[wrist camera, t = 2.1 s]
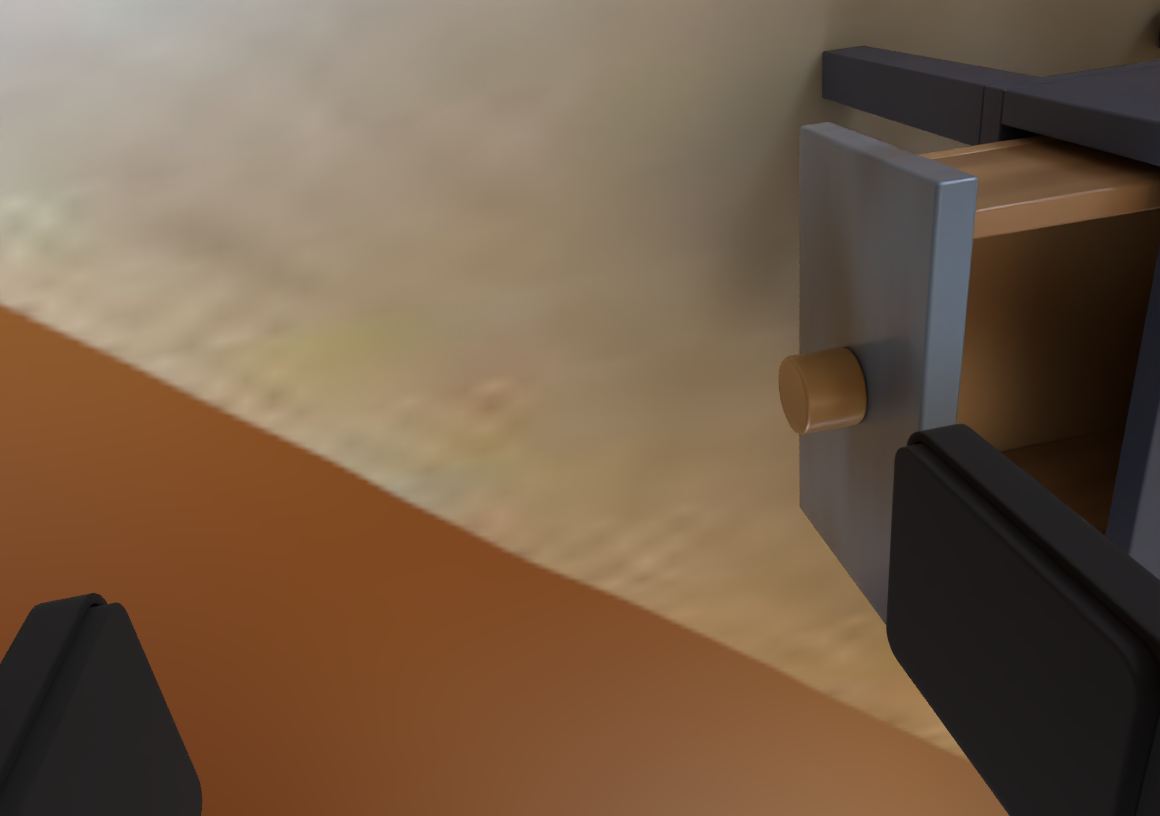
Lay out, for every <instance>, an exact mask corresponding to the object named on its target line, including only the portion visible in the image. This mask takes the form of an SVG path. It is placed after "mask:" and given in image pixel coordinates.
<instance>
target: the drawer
mask: <svg viewBox="0 0 1160 816" xmlns="http://www.w3.org/2000/svg"><path fill="white" fill-rule="evenodd" d="M1159 244H1160V166H1157V165H1153V164H1149V163H1146V162H1142V161H1138V160H1134V159H1131V158H1127V157H1123V156H1119V155H1116V154H1112V153H1108V152H1104V151H1101V150H1097V149H1093V148H1089V147H1086V146H1082V145H1078V144H1074V143H1071V142H1067V141H1063V140H1059V139H1056V138H1052V137H1048V136H1044V135H1039V136H1032V137H1026V138H1020V139H1013V140H1007V141H1000V142H994V143H988V144H981V145H975V146H968V147H962V148H956V149H949V150H943V151H936V152H930V153H923V154H915V153H912V152H909V151H907V150H904V149H901V148H899V147H896V146H893V145H890V144H888V143H885V142H882V141H880V140H877V139H874V138H872V137H869V136H866V135H863V134H861V133H858V132H855V131H853V130H850V129H847V128H845V127H842V126H839V125H836V124H834V123H831V122H823V123H817V124H810V125H804V126H802V127H800V354H799V355H794V356H788V357H786V358H785V359H784V360H783V361H782V363H781V365H780V370H779V392H780V398H781V403H782V407H783V410H784V413H785V416H786V418H787V420H788V422H789V424H790V426H791V428H792V429H793V430H794V431H795V432H796V433H798V434H800V508H801V510H802V511H803V512H804V514H805V515H806V516H807V518H808V519H809V521H810V522H811V523H812V525H813V526H814V527H815V529H816V530H817V531H818V533H819V534H820V536H821V537H822V538H823V540H824V541H825V542H826V544H827V545H828V546H829V548H830V549H831V551H832V552H833V553H834V555H835V556H836V557H837V559H838V560H839V562H840V563H841V564H842V566H843V567H844V568H845V570H846V571H847V572H848V574H849V575H850V577H851V578H852V579H853V581H854V582H855V583H856V585H857V586H858V587H859V589H860V590H861V592H862V593H863V594H864V596H865V597H866V598H867V600H868V601H869V602H870V604H871V605H872V607H873V608H874V609H875V611H876V612H877V613H878V615H879V616H880V618H881V619H882V620H883V622H884V623H885V624H886V620H887V600H888V580H889V560H890V540H891V520H892V500H893V479H894V461H895V454H896V452H897V450H898V449H899V448H901V447H906V446H907V441H908V439H909V437H910V435H912V434H913V433H914V432H918V431H923V430H928V429H933V428H938V427H944V426H949V425H954V424H964V425H966V426H968V427H970V428H971V429H972V430H974V431H975V432H976V433H977V434H979V435H980V436H981V437H982V438H984V439H985V440H986V441H987V442H989V443H990V444H991V445H992V446H994V447H995V448H996V449H997V450H999V451H1000V452H1001V453H1002V454H1004V455H1005V456H1006V457H1007V458H1009V459H1010V460H1011V461H1012V462H1014V463H1015V464H1016V465H1017V466H1018V467H1020V468H1021V469H1022V470H1023V471H1025V472H1026V473H1027V474H1028V475H1030V476H1031V477H1032V478H1033V479H1035V480H1036V481H1037V482H1038V483H1040V484H1041V485H1042V486H1043V487H1045V488H1046V489H1047V490H1048V491H1050V492H1051V493H1052V494H1053V495H1055V496H1056V497H1057V498H1058V499H1060V500H1061V501H1062V502H1063V503H1065V504H1066V505H1067V506H1068V507H1070V508H1071V509H1072V510H1073V511H1075V512H1076V513H1077V514H1078V515H1080V516H1081V517H1082V518H1083V519H1085V520H1086V521H1087V522H1088V523H1090V524H1091V525H1092V526H1093V527H1095V528H1096V529H1097V530H1098V531H1099V532H1101V533H1102V534H1103V535H1104V536H1105V535H1106V529H1107V524H1108V519H1109V513H1110V508H1111V502H1112V497H1113V492H1114V486H1115V481H1116V476H1117V470H1118V465H1119V459H1120V454H1121V449H1122V443H1123V438H1124V433H1125V427H1126V422H1127V416H1128V411H1129V406H1130V400H1131V395H1132V389H1133V384H1134V379H1135V373H1136V368H1137V363H1138V357H1139V352H1140V346H1141V341H1142V336H1143V330H1144V325H1145V320H1146V314H1147V309H1148V303H1149V298H1150V293H1151V287H1152V282H1153V276H1154V271H1155V266H1156V260H1157V255H1158V250H1159Z"/></svg>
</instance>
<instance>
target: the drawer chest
mask: <svg viewBox="0 0 1160 816" xmlns="http://www.w3.org/2000/svg"><path fill="white" fill-rule="evenodd" d="M1158 48H1159V49H1160V39H1159V45H1158ZM822 98H824V99H827V100H830V101H834V102H837V103H840V104H843V105H846V106H849V107H852V108H855V109H859V110H862V111H865V112H868V113H871V114H874V115H877V116H881V117H884V118H887V119H890V120H893V121H896V122H899V123H902V124H906V125H909V126H912V127H915V128H918V129H921V130H924V131H928V132H931V133H934V134H937V135H940V136H943V137H946V138H949V139H953V140H956V141H959V142H962V143H965V144H968V145H971V146H975V145H981V144H988V143H994V142H1000V141H1007V140H1013V139H1020V138H1026V137H1032V136H1039V135H1044V136H1048V137H1052V138H1056V139H1059V140H1063V141H1067V142H1071V143H1074V144H1078V145H1082V146H1086V147H1089V148H1093V149H1097V150H1101V151H1104V152H1108V153H1112V154H1116V155H1119V156H1123V157H1127V158H1131V159H1134V160H1138V161H1142V162H1146V163H1149V164H1153V165H1157V166H1160V60H1154V61H1148V62H1141V63H1134V64H1127V65H1121V66H1114V67H1107V68H1101V69H1094V70H1087V71H1080V72H1074V73H1067V74H1060V75H1053V76H1047V77H1037V76H1031V75H1025V74H1020V73H1014V72H1008V71H1003V70H997V69H992V68H986V67H980V66H975V65H969V64H963V63H958V62H952V61H947V60H941V59H935V58H930V57H924V56H918V55H913V54H907V53H902V52H896V51H890V50H885V49H879V48H873V47H868V46H859V47H852V48H845V49H838V50H831V51H824V52H823V72H822ZM1105 536H1106V537H1107V538H1108V539H1109V540H1111V541H1112V542H1113V543H1114V544H1116V545H1117V546H1118V547H1119V548H1121V549H1122V550H1123V551H1124V552H1126V553H1127V554H1128V555H1129V556H1131V557H1132V558H1133V559H1134V560H1136V561H1137V562H1138V563H1139V564H1141V565H1142V566H1143V567H1144V568H1146V569H1147V570H1148V571H1149V572H1151V573H1152V574H1153V575H1154V576H1156V577H1157V578H1158V579H1159V580H1160V244H1159V250H1158V255H1157V260H1156V266H1155V271H1154V276H1153V282H1152V287H1151V293H1150V298H1149V303H1148V309H1147V314H1146V320H1145V325H1144V330H1143V336H1142V341H1141V346H1140V352H1139V357H1138V363H1137V368H1136V373H1135V379H1134V384H1133V389H1132V395H1131V400H1130V406H1129V411H1128V416H1127V422H1126V427H1125V433H1124V438H1123V443H1122V449H1121V454H1120V459H1119V465H1118V470H1117V476H1116V481H1115V486H1114V492H1113V497H1112V502H1111V508H1110V513H1109V519H1108V524H1107V529H1106V535H1105Z"/></svg>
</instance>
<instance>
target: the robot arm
mask: <svg viewBox="0 0 1160 816" xmlns="http://www.w3.org/2000/svg"><path fill="white" fill-rule="evenodd" d="M886 631H887V637H888V641H889V644H890V647H891V650H892V652H893V654H894V656H895V657H896V659H897V661H898V662H899V663H900V665H901V666H902V667H903V669H904V670H905V672H906V673H907V674H908V676H909V677H910V679H911V680H912V681H913V683H914V684H915V685H916V687H917V688H918V690H919V691H920V692H921V694H922V695H923V697H924V698H925V699H926V701H927V702H928V703H929V705H930V706H931V708H932V709H933V710H934V712H935V713H936V715H937V716H938V717H939V719H940V720H941V721H942V723H943V724H944V726H945V727H946V728H947V730H948V731H949V733H950V734H951V735H952V737H953V738H954V739H955V741H956V742H957V744H958V745H959V746H960V748H961V749H962V751H963V752H964V753H965V755H966V756H967V757H968V759H969V760H970V762H971V763H972V764H973V766H974V767H975V769H976V770H977V771H978V773H979V774H980V775H981V777H982V778H983V779H984V781H985V782H986V784H987V785H988V787H989V788H990V789H991V791H992V792H993V793H994V795H995V796H996V798H997V799H998V800H999V802H1000V803H1001V805H1002V806H1003V807H1004V809H1005V810H1006V811H1007V813H1008V814H1009V816H1160V580H1159V579H1158V578H1157V577H1156V576H1154V575H1153V574H1152V573H1151V572H1149V571H1148V570H1147V569H1146V568H1144V567H1143V566H1142V565H1141V564H1139V563H1138V562H1137V561H1136V560H1134V559H1133V558H1132V557H1131V556H1129V555H1128V554H1127V553H1126V552H1124V551H1123V550H1122V549H1121V548H1119V547H1118V546H1117V545H1116V544H1114V543H1113V542H1112V541H1111V540H1109V539H1108V538H1107V537H1106V536H1104V535H1103V534H1102V533H1101V532H1099V531H1098V530H1097V529H1096V528H1095V527H1093V526H1092V525H1091V524H1090V523H1088V522H1087V521H1086V520H1085V519H1083V518H1082V517H1081V516H1080V515H1078V514H1077V513H1076V512H1075V511H1073V510H1072V509H1071V508H1070V507H1068V506H1067V505H1066V504H1065V503H1063V502H1062V501H1061V500H1060V499H1058V498H1057V497H1056V496H1055V495H1053V494H1052V493H1051V492H1050V491H1048V490H1047V489H1046V488H1045V487H1043V486H1042V485H1041V484H1040V483H1038V482H1037V481H1036V480H1035V479H1033V478H1032V477H1031V476H1030V475H1028V474H1027V473H1026V472H1025V471H1023V470H1022V469H1021V468H1020V467H1018V466H1017V465H1016V464H1015V463H1014V462H1012V461H1011V460H1010V459H1009V458H1007V457H1006V456H1005V455H1004V454H1002V453H1001V452H1000V451H999V450H997V449H996V448H995V447H994V446H992V445H991V444H990V443H989V442H987V441H986V440H985V439H984V438H982V437H981V436H980V435H979V434H977V433H976V432H975V431H974V430H972V429H971V428H970V427H968V426H966V425H964V424H954V425H949V426H944V427H938V428H933V429H928V430H923V431H918V432H914V433H913V434H912V435H910V437H909V439H908V441H907V446H906V447H901V448H899V449H898V450H897V452H896V454H895V461H894V479H893V500H892V520H891V540H890V560H889V580H888V600H887V620H886ZM201 811H202V791H201V786H200V781H199V779H198V776H197V773H196V771H195V769H194V766H193V764H192V762H191V760H190V757H189V755H188V752H187V750H186V748H185V746H184V743H183V741H182V739H181V736H180V734H179V732H178V729H177V727H176V725H175V722H174V720H173V718H172V715H171V713H170V711H169V708H168V707H167V704H166V701H165V699H164V697H163V695H162V692H161V690H160V688H159V685H158V683H157V681H156V678H155V676H154V674H153V671H152V669H151V667H150V664H149V662H148V660H147V657H146V655H145V653H144V651H143V648H142V646H141V644H140V641H139V639H138V637H137V634H136V632H135V630H134V627H133V625H132V623H131V620H130V618H129V616H128V614H127V612H126V610H125V608H124V607H123V606H122V605H121V604H120V603H111V604H107V602H106V601H105V599H104V598H103V597H102V596H101V595H99V594H95V593H91V594H87V595H81V596H76V597H71V598H66V599H61V600H56V601H50V602H46V603H41V604H39V605H36V606H35V607H34V608H33V609H32V610H31V612H30V613H29V615H28V616H27V618H26V620H25V622H24V623H23V625H22V627H21V629H20V630H19V632H18V634H17V636H16V637H15V639H14V641H13V643H12V645H11V646H10V648H9V650H8V651H7V653H6V655H5V657H4V658H3V660H2V662H1V664H0V816H201Z"/></svg>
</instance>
